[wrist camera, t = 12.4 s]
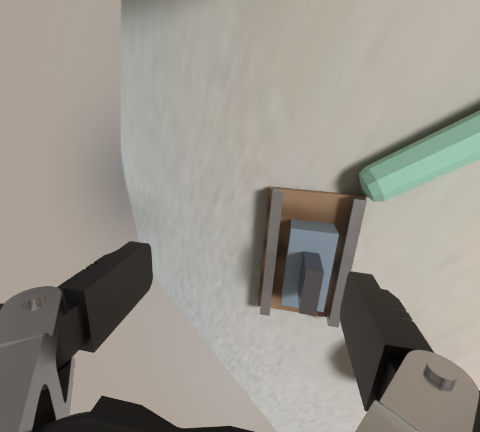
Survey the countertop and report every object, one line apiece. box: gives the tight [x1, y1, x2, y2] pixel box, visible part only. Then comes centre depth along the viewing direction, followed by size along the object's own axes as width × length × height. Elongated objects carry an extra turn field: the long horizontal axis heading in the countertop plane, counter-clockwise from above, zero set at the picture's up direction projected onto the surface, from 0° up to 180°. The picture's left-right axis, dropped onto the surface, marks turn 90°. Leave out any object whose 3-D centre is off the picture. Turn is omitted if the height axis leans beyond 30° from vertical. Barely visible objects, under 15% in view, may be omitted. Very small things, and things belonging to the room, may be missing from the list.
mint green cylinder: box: [359, 110, 480, 201], centre depth 29 cm, size 6×6×25 cm
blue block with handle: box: [281, 219, 339, 316], centre depth 35 cm, size 12×6×9 cm, turn 177°
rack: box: [258, 187, 367, 327], centre depth 38 cm, size 20×13×3 cm, turn 177°
